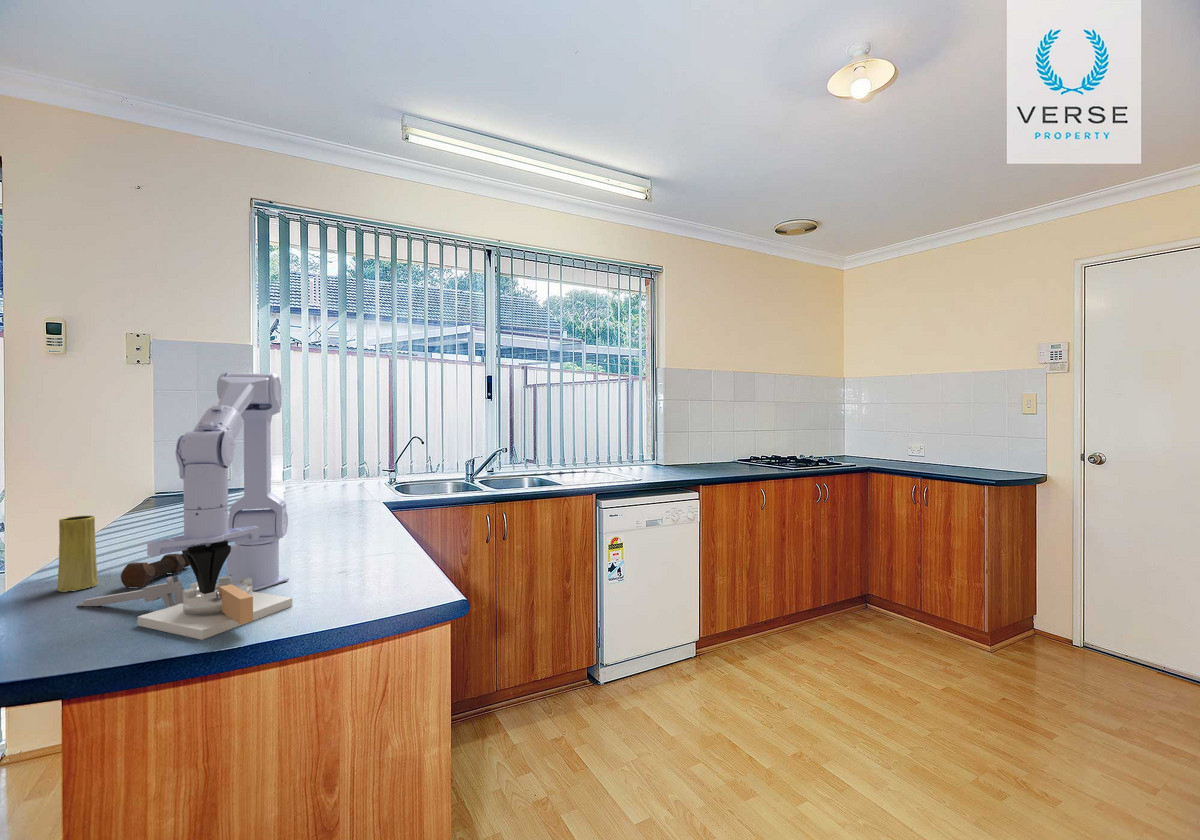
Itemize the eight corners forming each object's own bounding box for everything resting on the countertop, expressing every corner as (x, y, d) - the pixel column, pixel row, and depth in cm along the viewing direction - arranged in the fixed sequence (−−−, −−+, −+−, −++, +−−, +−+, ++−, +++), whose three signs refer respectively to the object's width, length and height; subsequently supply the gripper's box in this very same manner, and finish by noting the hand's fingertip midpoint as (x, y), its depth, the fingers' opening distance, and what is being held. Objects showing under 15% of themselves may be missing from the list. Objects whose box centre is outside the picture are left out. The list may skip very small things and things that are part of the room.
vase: (49, 590, 108) (49, 519, 108) (88, 581, 114) (87, 514, 114) (66, 594, 106) (66, 521, 106) (104, 585, 112) (104, 516, 112)
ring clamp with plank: (175, 605, 94) (175, 582, 94) (241, 590, 102) (241, 569, 102) (209, 632, 83) (209, 606, 83) (280, 613, 91) (280, 590, 91)
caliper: (184, 609, 99) (184, 575, 99) (179, 611, 98) (179, 577, 98) (82, 606, 101) (82, 572, 100) (76, 608, 99) (76, 573, 99)
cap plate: (137, 625, 91) (137, 615, 91) (232, 595, 106) (232, 586, 106) (201, 639, 85) (201, 629, 85) (292, 606, 100) (292, 596, 100)
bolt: (189, 576, 125) (137, 595, 110) (169, 565, 125) (114, 583, 110) (202, 553, 125) (152, 570, 110) (183, 543, 125) (130, 558, 110)
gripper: (158, 516, 78) (159, 610, 78) (267, 502, 90) (267, 584, 90) (142, 511, 82) (142, 600, 82) (248, 498, 94) (248, 577, 94)
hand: (207, 591), depth 86 cm, fingers closed
